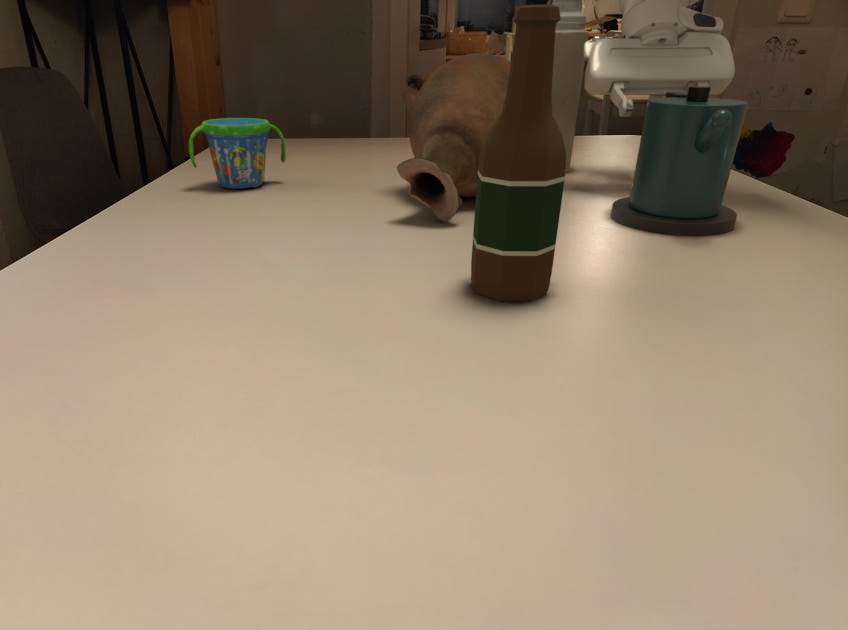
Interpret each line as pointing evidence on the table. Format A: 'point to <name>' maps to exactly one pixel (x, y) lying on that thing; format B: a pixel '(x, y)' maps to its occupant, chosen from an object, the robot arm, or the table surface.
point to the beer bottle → (521, 172)
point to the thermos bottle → (568, 69)
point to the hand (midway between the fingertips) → (660, 113)
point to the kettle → (686, 154)
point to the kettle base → (673, 221)
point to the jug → (451, 127)
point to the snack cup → (237, 149)
